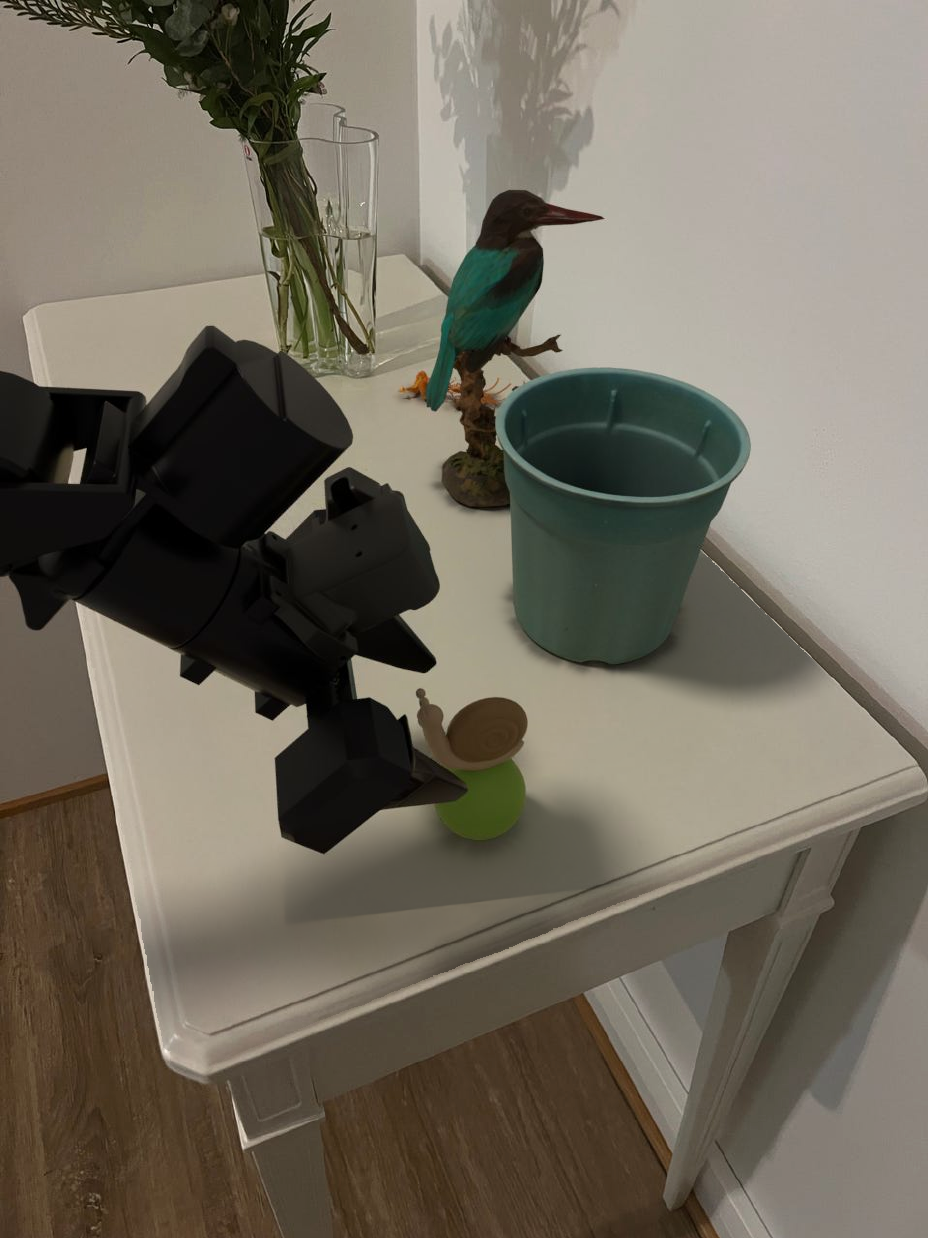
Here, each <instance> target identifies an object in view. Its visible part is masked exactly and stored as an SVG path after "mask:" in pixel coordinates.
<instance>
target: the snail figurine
mask: <svg viewBox="0 0 928 1238" xmlns="http://www.w3.org/2000/svg"><path fill="white" fill-rule="evenodd" d="M415 696H416V698H417V699H418V704H419V709H418V710H417V713H416V719H417V724H418V725H419V726H420V727H421V730H422V734H423V737H424V740H425V742H426V745H427V748H428V749H429V752H430V753H431V755H432V756H433V757H434V760H435V761H436V762H437V763H439V764H440V765H442V766H443V767H445V768H446V769H448V770H449V771H451V772H452V773H454V774H455V775H456V776H457V777H459V778H460V779H461V780H462V781H463V782H465V783H466V784H467V787H468V792H467V793H466V794H465V795H463V796H462V797H461V798H459V799H458V800H457V801H454V802H447V803H438V804H434V808H435V811H436V813H437V815H438V817H439V818H440V820H441V821H442V823H443V824H444V825H445V826H446V827H447V828H448V829H449V830H450V831H451V832H453V833H455V834H456V835H458V836H460V837H462V838H465V839H467V840H474V841H486V840H491V839H494V838H497V837H499V836H501V835H503V834H505V833H506V832H507V831H509V830H510V829H511V828H513V826H514V825H515V824H516V823H517V821H518V820H519V819H520V817H521V815H522V813H523V810H524V808H525V804H526V799H527V798H526V797H527V790H526V789H527V788H526V782H525V779H524V776H523V774H522V771H521V769H520V767H519V766H518V765H517V763H516V762H515V761H514V760H513V759H512V758H513V757H514V756H516V755H517V754H518V753H519V752H520V751H521V750H522V748H523V747H524V745H525V741H524V740H523V739H524V737H525V735H526V734H527V730H528V722H529V721H528V716H527V712H526V711H525V709H524V708H523V707H522V706H521V705H520V704H519V703H518V702H516V701H515V700H512V699H510V698H507V697H501V696H491V697H484V698H481V699H478V700H475V701H473V702H471V703H469V704H467V705H465V706H464V707H462V708H461V709H460V710H458V712H456V713H455V715H454V716H453V717H452V719H451V720H450V721H449V724H448V726H447V729H446V732H445V729H444V727H443V724H442V723H443V721H444V711H443V710H442V708H441V707H439V706H438V705H437V704H433V703H430V700H429V699H428V698H427V697H426V690H425V689H424V688H422V687H419V688H417V689H416V691H415Z"/></svg>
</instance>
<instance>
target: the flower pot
mask: <svg viewBox="0 0 928 1238" xmlns="http://www.w3.org/2000/svg"><path fill="white" fill-rule="evenodd" d="M518 386H519V385H518ZM505 398H506V399H505V400H503V401H501V404H500V405H499V407H498V410H497V411H496V415H495V416H496V419H495V428H496V433H497V435H496V439H497V442H498V443H499V445H500V449H501V450H503V451H504V471H505V480H506V483H507V486H508V489H509V491H510V503H509V506H510V507H509V508H510V535H511V536H510V537H511V566H512V567H511V569H512V595H513V596H512V597H513V598H512V600H513V609H514V615H515V617H516V621H517V622H518V625H519V626H520V628H521V629H522V630H523V632H524V633H525V634H526V635H527V636H528V637H529V638H530V639H531V640H532V641H533V642H534V643H536V644H537V645H539V647H541V648H543V649H545V650H546V651H548V652H550V653H551V654H553V655H555V656H557V657H561V658H563V659H566V660H569V661H573V662H577V663H583V662H587V661H599V662H604V663H607V664H608V665H619V664H624V663H629V662H633V661H637V660H639V659H641V658H643V657H645V656H648V655H649V654H651V653H652V652H654V651H655V650H657V649H658V648H659V647H661V646H662V645H663V644H664V642H665V641H666V640H667V638H668V637H669V635H670V633H671V632H672V629H673V627H674V624H675V621H676V619H677V616H678V613H679V610H680V607H681V606H682V602H683V599H684V597H685V594H686V591H687V589H688V586H689V583H690V581H691V577H692V575H693V572H694V569H695V567H696V565H697V561H698V558H699V556H700V554H701V553H700V552H701V550H702V547H703V546H704V542H705V539H706V536H707V535H708V531H709V528H710V526H711V524H712V521H713V520H714V519H715V518H716V516H718V514H719V513H720V511H721V509H722V507H723V505H724V502H725V500H726V498H727V495H728V492H729V490H730V487H731V485H732V483H733V482H734V481H735V480H736V479H737V478H738V477H739V476H740V474H742V472H743V470H744V468H745V467H746V465H747V463H748V461H749V458H750V456H751V449H752V447H751V446H752V444H751V443H752V442H751V437H750V434H749V432H748V429H747V427H746V425H745V424H744V421H743V420H742V419H741V418H740V416H739V415H738V414H737V413H736V412H735V411H734V410H733V409H732V408H731V407H730V406H728V405H727V404H726V403H724V402H723V401H722V400H720V399H719V398H717V397H716V396H715V395H712V394H711V393H710V392H707V391H706V390H704V389H702V388H699V387H697V386H695V385H693V384H690V383H688V382H685V381H683V380H680V379H677V378H673V377H670V376H666V375H663V374H658V373H654V372H648V371H643V370H638V369H631V368H624V367H623V368H622V367H621V368H620V367H607V366H605V367H594V366H593V367H583V368H582V367H581V368H572V369H566V370H561V371H555V372H552V373H548V374H543V375H541V376H538V377H535V378H533V379H530V380H529V381H527V382H525V383H524V382H523V384H522V385H520V386H519V387H518V388H516V389H515V390H514V391H511V392H510V393H509V394H508V395H507V396H506V397H505Z"/></svg>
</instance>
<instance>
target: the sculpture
mask: <svg viewBox="0 0 928 1238" xmlns="http://www.w3.org/2000/svg"><path fill="white" fill-rule="evenodd" d="M601 220H605V218H604V217H603V216H602V215H598V214H593V213H590V212H584V211H579V210H575V209H569V208H565V207H561V206H558V205H554V204H551V203H547V202H545V200H544V199H543V198H542V197H540V196H538V195H537V194H535V193H533V192H531V191H529V190H527V189H508V190H505V191H503V192H500V193H498V194H497V195H495V197H494V198H492V201H491V202H490V204H489V206H488V208H487V210H486V213H485V214H484V217H483V219H482V223H481V228H480V234H479V236H478V238H477V240H476V242H475V245H473V246H472V247H471V249H469V251H468V252H467V253H466V255H464V258H463V260H462V261H461V263H460V264H459V267H458V269H457V271H456V273H455V274H454V276H453V279H452V284H451V287H450V290H449V294H448V298H447V302H446V307H445V315H444V316H443V319H442V323H441V325H440V326H441V327H440V334H441V335H440V342H439V348H438V353H437V356H436V360H435V364H434V366H433V370H432V372H431V375H430V377H429V378H430V380H429V382H428V385H427V388H426V392H425V396H426V399H425V402H426V409H427V408H430V410H431V411H432V412H437V411H438V410H439V409H440V407H442V405H443V404H444V402H445V400H446V397H447V394H448V392H447V391H448V388H449V384H450V382H451V380H452V376H453V373H454V370H456V372H457V374H458V375H459V377H460V378H459V379H460V384H461V385H460V386H459V387H460V392H461V394H459V395H460V397H459V401H458V402H456V403H454V405H453V408H454V409H455V410H456V411H457V412H460V413H461V415H460V418H459V420H458V422H459V423H460V424H461V425H462V426H463V431H464V441H465V442H466V443H467V444H468V446H467V449H465V451H464V450H463V451H462V450H459V451H458V452H456V453H454V454H452V455H450V456H449V457H448V458H447V459H446V460H445V461H444V462H443V464H442V466H441V467H442V468H441V483H442V485H443V486H444V488H445V489H446V491H447V492H448V494H449V495H450V497H452V498H453V499H454V500H455V501H456V502H459V503H461V504H463V505H464V506H466V507H475V508H476V507H477V508H480V507H481V508H492V507H501V506H502V507H503V506H506V505H508V504H509V505H510V491H509V489H508V486H507V483H506V480H505V471H504V451H503V450H502V448H501V447H499V446H498V445H497V444H496V443H497V433H496V428H495V419H496V415H495V413H496V406H493V407H494V408H491V407H490V406H487V405H485V404H482V403H481V398H483V397H484V396H485V395H484V392H483V391H484V390H485V389H484V388H486V385H487V382H486V381H487V380H486V378H485V376H484V373H485V372H484V370H483V368H484V367H485V366H486V365H487V364H488V363H489V362H491V361H492V360H493V357H494V356H495V355H496V356H498V357H500V356H501V357H502V355H503V356H509V355H512V354H514V355H516V356H518V357H522V358H526V357H536V356H538V355H540V354H543V353H546V352H548V351H552V352H554V353H556V354H557V353H561V352H563V349H561V348H560V347H559V344H558V341H557V340H558V339H559V337H561V336H562V334H556V335H555V336H552V337H551V336H550V337H549V338H547V339H546V340H545V341H544V342H542V343H541V344H538V345H534V346H530V347H526V348H521V346H520V345H518V344H516V343H515V342H514V343H513V342H512V338H511V337H510V334H511V332H512V331H513V329H514V328H515V327H516V325H517V324H518V322H519V321H520V319H521V318H522V316H523V314H524V313H525V311H526V310H527V308H528V307H529V305H530V304H531V302H532V301H533V300H534V298H535V296H536V295H537V293H538V292H539V290H540V289H541V286H542V282H543V277H544V276H543V275H544V265H545V260H544V259H545V258H544V248H543V246H542V245H541V244H540V243H539V241H538V239H537V238H536V237H535V236H534V234H533V233H532V231H533V230H537V229H538V228H539V227H544V226H545V227H547V226H566V225H571V226H572V225H577V224H583V223H591V222H596V221H601ZM450 379H451V380H450ZM524 383H526V382H525V381H523V384H524ZM518 387H519V385H515V386H514V387H512V389H511V392H513V391H514V390H515V389H516V388H518ZM494 400H495V402H496V400H497V399H494ZM496 403H497V402H496Z"/></svg>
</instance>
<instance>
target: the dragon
mask: <svg viewBox="0 0 928 1238" xmlns="http://www.w3.org/2000/svg"><path fill="white" fill-rule="evenodd" d="M429 380H430V377H429V375H428V373H426V371H425V370H421V371H418V373H417V374H416V376H415V381H414V383H413V385H412V386H409V387H404V386H403V385H401V386H400V387H401V389H398V391H397V393H403V394H404V395H406V391H407V392H410V393H413V394H418V393H419V392H420V394H421V396H422V398H423V400H426V396H425V392H426V388H427V385H428V382H429ZM451 380H452V381H451ZM455 380H457V381H458V380H459V381H460V378H459V379H458V378H457V377H453V378H452V377H451V379H450V383H449V388H448V391H447V393H448V394H450V395H451V397H452V398H448V400H449V401H450V402H449V405H452V404H453V405H455V403H456V402H458V401H459V398H460V395H461V392H460V385H461V382H456V383H454V382H455ZM499 380H500V377H497V379H496V382H495V383H494V385H492V386H491V387H490V388H488V389H484V390H483V392H484V397H483V398H481V405H485V404H489V405H491V406H492V407H495V405H496V404H497V403H499V402H503V401H504V400H505V399H506V398H507V397H505V398H501V399H494V398H493V397H495V396H497V395H500V394H501V393H503V392H504V391H506V390H507V389H509V387H510V386H511V385H512V383H511V382H510V383H509V384H508V385H507V386H505V387H504V388H503V389H501V390H499V391H498V392H496V393H493V394H492V393H488V392H490V391H492V390H494V389H495V388H496V386H497V385H498V383H499ZM453 383H454V384H453ZM456 394H457V395H456ZM495 400H496V402H495Z"/></svg>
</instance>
